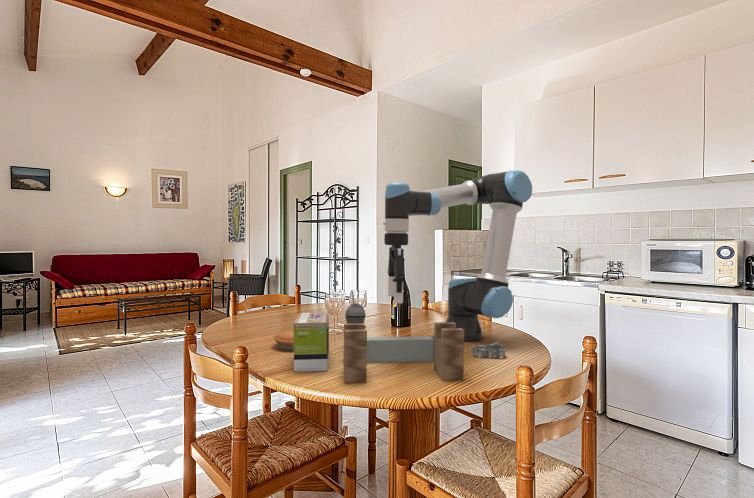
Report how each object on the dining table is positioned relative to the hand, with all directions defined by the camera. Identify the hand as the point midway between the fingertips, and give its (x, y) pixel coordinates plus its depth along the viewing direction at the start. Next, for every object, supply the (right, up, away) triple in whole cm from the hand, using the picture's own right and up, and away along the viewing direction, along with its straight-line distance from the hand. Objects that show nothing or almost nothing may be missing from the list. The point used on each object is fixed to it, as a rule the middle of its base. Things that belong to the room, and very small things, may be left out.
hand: (395, 299), depth 131 cm
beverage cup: (-14, -19, +15) cm, 27 cm away
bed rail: (0, -19, +1) cm, 20 cm away
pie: (-35, -19, +15) cm, 42 cm away
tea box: (-26, -20, -4) cm, 33 cm away
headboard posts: (+1, -20, -13) cm, 24 cm away
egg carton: (+32, -20, +7) cm, 38 cm away
